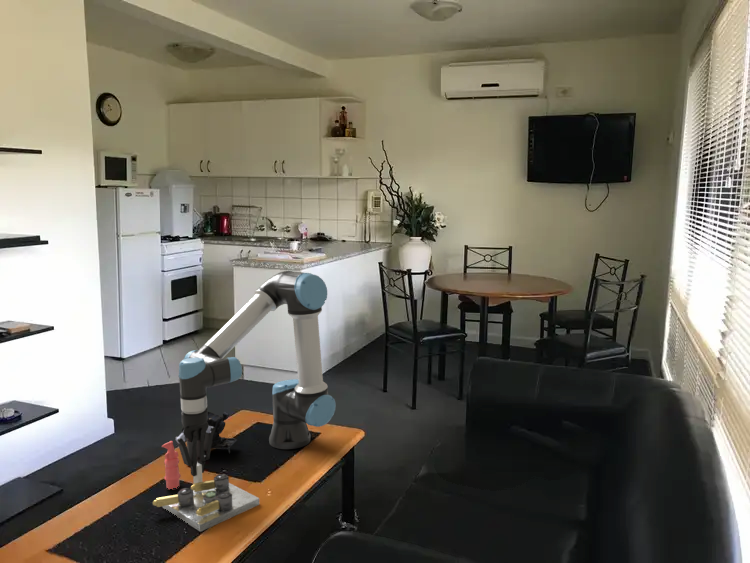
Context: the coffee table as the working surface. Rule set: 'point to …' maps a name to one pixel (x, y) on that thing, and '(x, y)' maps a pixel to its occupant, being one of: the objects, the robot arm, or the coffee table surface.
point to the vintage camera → (218, 431)
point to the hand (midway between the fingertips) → (198, 484)
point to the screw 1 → (176, 498)
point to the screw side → (217, 504)
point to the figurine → (171, 466)
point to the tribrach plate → (239, 504)
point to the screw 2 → (213, 484)
